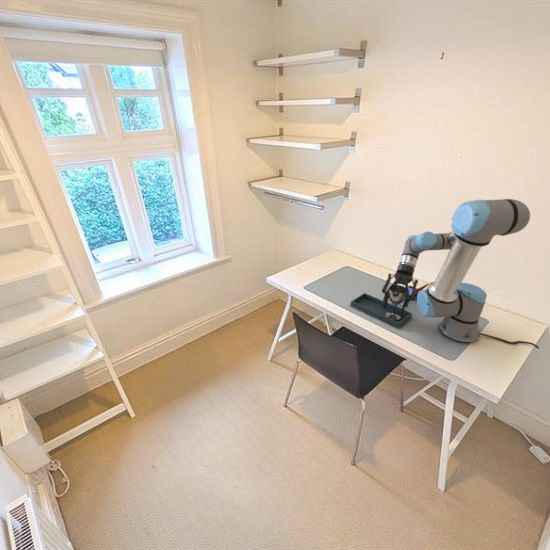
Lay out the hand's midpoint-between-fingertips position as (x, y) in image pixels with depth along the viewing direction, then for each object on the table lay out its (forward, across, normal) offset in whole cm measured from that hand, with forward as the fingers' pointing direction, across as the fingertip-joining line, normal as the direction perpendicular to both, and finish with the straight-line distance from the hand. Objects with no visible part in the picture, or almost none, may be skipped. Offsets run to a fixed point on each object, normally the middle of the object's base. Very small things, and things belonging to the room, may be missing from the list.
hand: (392, 310), depth 146 cm
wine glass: (+1, 0, -6) cm, 6 cm away
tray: (+1, +7, -8) cm, 11 cm away
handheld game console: (-17, -3, -26) cm, 31 cm away
